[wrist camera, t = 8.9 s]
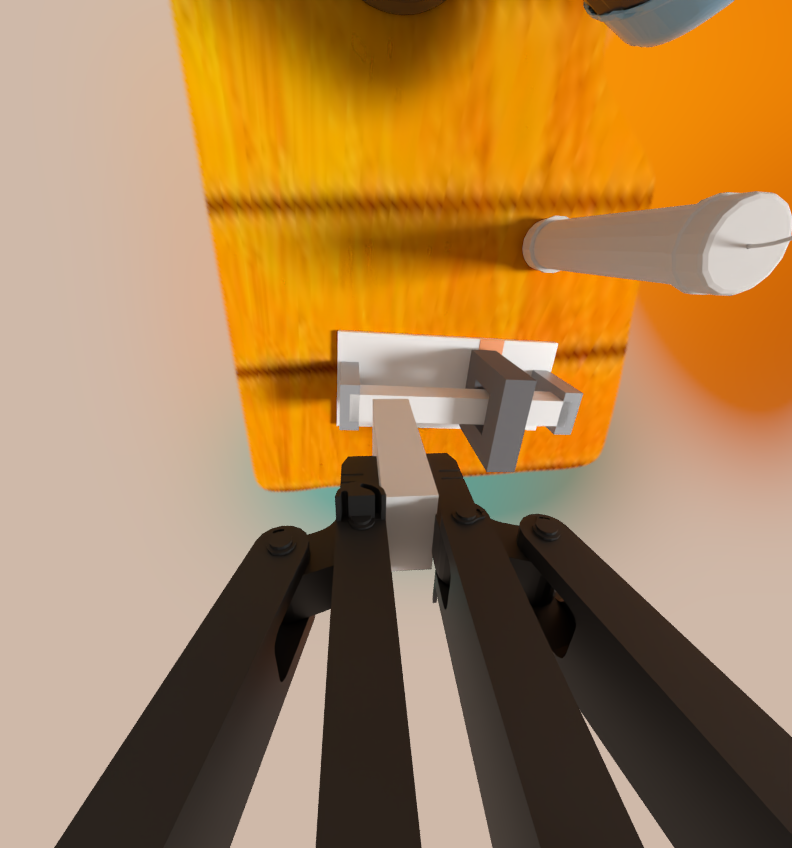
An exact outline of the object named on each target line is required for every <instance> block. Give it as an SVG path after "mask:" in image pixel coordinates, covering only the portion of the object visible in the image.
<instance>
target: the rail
mask: <svg viewBox="0 0 792 848" xmlns="http://www.w3.org/2000/svg"><path fill="white" fill-rule="evenodd" d="M557 347H558V343H556V342H546V341H528V340H510V339H492V338H474V337H456V336H437V335H419V334H401V333H383V332H365V331H347V330H338V365H337V426H339V430H359V426H366V427H373V399H409V402H410V406H411V409H412V412H413V415H414V418H415V422H416V425H417V428H456V429H461V428H460V426H459V424H479V425H484V421H485V416H486V411H487V406H488V401H489V396H490V394H489V392H488V391H487V390H486V389H465V387H466V381H467V375H468V369H469V363H470V357H471V351H472V349H473V350H493V351H497V352H498V353H500V354H501V355H503V356H504V357H505V358H507V359H508V360H509V361H511V362H512V363H513V364H515V365H516V366H517V367H519V368H520V369H522V370H523V371H524V372H526V373H527V374H528V375H530V376H531V377H532V378H534V379H535V380H536V381H537V382H536V386H535V390H534V394H533V399H532V403H531V407H530V411H529V415H528V419H527V423H526V427H525V430H536V427H537V426H546V427H547V428H548V429H549V430H550V431H551V432H552V433H553V434H563V435H571V431H572V428H573V425H574V422H575V418H576V415H577V412H578V408H579V405H580V402H581V399H582V395H583V393H582V392H580V391H579V390H577V389H575V388H574V387H572V386H571V385H569V384H568V383H566V382H565V381H563V380H561V379H560V378H558V377H557V376H555V375H554V374H552V373H551V370H552V366H553V362H554V358H555V354H556V350H557Z"/></svg>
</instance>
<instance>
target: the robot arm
mask: <svg viewBox="0 0 792 848" xmlns="http://www.w3.org/2000/svg"><path fill="white" fill-rule="evenodd" d="M363 1H365V2H366V3H368V4H369V5H371V6H373V7H375V8H377V9H379V10H382V11H385V12H388V13H392V14H399V15H410V14H417V13H421V12H425V11H427V10H430V9H432V8H434V7H436V6H438V5H439V4H441V3H442V2H444V1H445V0H363ZM583 1H584V8H585V10H586V12H587V13H588V14H589V15H590V16H591V17H592V18H594V19H597V20H599V21H602V22H604V23H605V24H606V25H607V26H608V27H609V28H610V29H611V30H613V32H614V33H616V35H618V36H619V37H620V38H621V39H622V40H623V41H624V42H625V43H627V44H629V45H631V46H640V47H653V46H657V45H660V44H663V43H666V42H669V41H671V40H673V39H675V38H678V37H680V36H681V35H684V34H685V33H687V32H689V31H691V30H692V29H694V28H696V27H697V26H699V25H700V24H702V23H703V22H705V21H706V20H708V19H709V18H711V17H712V16H714V15H715V14H716V13H718V12H719V11H720V10H722V9H723V8H725V7H726V6H728V5H729V4H730V3H731V2H733V1H734V0H583ZM335 505H336V520H335V521H334V522H333V523H332V524H331V525H330V526H329V527H327V528H325V529H323V530H321V531H318V532H315V533H312V534H309V535H307V534H306V533H305V532H304V531H303V530H302V529H300V528H297V527H294V526H280V527H277V528H273V529H270V530H269V531H267V532H265V533H263V534H262V535H261V536H260V537H259V538H258V539H257V540H256V541H255V543H254V545H253V546H252V548H251V549H250V551H249V552H248V554H247V555H246V557H245V558H244V560H243V562H242V563H241V564H240V566H239V567H238V569H237V571H236V572H235V573H234V575H233V576H232V578H231V580H230V581H229V583H228V584H227V586H226V587H225V589H224V590H223V592H222V593H221V595H220V596H219V598H218V599H217V601H216V602H215V604H214V606H213V607H212V608H211V610H210V611H209V613H208V615H207V616H206V618H205V619H204V621H203V622H202V624H201V625H200V627H199V628H198V630H197V631H196V633H195V634H194V636H193V637H192V639H191V640H190V642H189V643H188V645H187V646H186V648H185V649H184V651H183V653H182V654H181V656H180V657H179V659H178V660H177V662H176V663H175V665H174V666H173V668H172V669H171V671H170V672H169V674H168V675H167V677H166V678H165V680H164V681H163V683H162V684H161V686H160V688H159V689H158V691H157V692H156V694H155V695H154V697H153V698H152V700H151V701H150V703H149V705H148V706H147V707H146V709H145V710H144V712H143V713H142V715H141V717H140V718H139V719H138V721H137V723H136V724H135V726H134V727H133V729H132V730H131V732H130V733H129V735H128V736H127V738H126V739H125V741H124V742H123V744H122V745H121V747H120V748H119V750H118V752H117V753H116V754H115V756H114V758H113V759H112V761H111V762H110V764H109V765H108V767H107V768H106V770H105V771H104V773H103V775H102V776H101V777H100V779H99V781H98V782H97V783H96V785H95V786H94V788H93V789H92V791H91V792H90V794H89V796H88V797H87V799H86V800H85V802H84V803H83V805H82V806H81V808H80V809H79V811H78V812H77V814H76V815H75V817H74V818H73V820H72V822H71V823H70V825H69V826H68V828H67V829H66V831H65V832H64V834H63V835H62V837H61V838H60V840H59V841H58V843H57V845H56V846H55V847H54V848H230V846H231V843H232V840H233V837H234V835H235V832H236V830H237V827H238V824H239V821H240V819H241V816H242V813H243V810H244V808H245V805H246V803H247V800H248V797H249V794H250V792H251V789H252V786H253V784H254V781H255V778H256V776H257V773H258V770H259V767H260V765H261V762H262V759H263V756H264V754H265V751H266V748H267V746H268V743H269V740H270V737H271V735H272V732H273V730H274V727H275V724H276V721H277V719H278V716H279V713H280V711H281V708H282V705H283V703H284V700H285V697H286V695H287V692H288V689H289V686H290V684H291V681H292V678H293V676H294V673H295V670H296V668H297V665H298V662H299V659H300V656H301V654H302V651H303V648H304V646H305V643H306V641H307V638H308V635H309V632H310V630H311V627H312V624H313V622H314V618H315V615H316V614H318V613H321V612H324V611H326V610H329V609H331V615H330V631H329V646H328V662H327V678H326V693H325V709H324V725H323V741H322V756H321V774H320V788H319V789H320V790H319V804H318V819H317V836H316V848H421V839H420V830H419V820H418V812H417V802H416V793H415V784H414V776H413V775H414V774H413V765H412V756H411V747H410V737H409V729H408V720H407V710H406V701H405V692H404V682H403V673H402V664H401V655H400V645H399V637H398V627H397V618H396V608H395V599H394V590H393V581H392V572H391V571H406V570H424V569H431V567H432V558H433V560H434V564H435V569H436V570H435V580H434V589H433V603H436V601H437V597H438V602H439V606H440V611H441V615H442V620H443V625H444V629H445V634H446V638H447V643H448V647H449V652H450V656H451V661H452V665H453V670H454V674H455V679H456V684H457V688H458V693H459V697H460V702H461V706H462V711H463V716H464V719H465V725H466V729H467V733H468V738H469V743H470V747H471V752H472V756H473V761H474V765H475V770H476V775H477V779H478V783H479V788H480V793H481V797H482V801H483V806H484V810H485V815H486V820H487V824H488V829H489V833H490V838H491V843H492V847H493V848H644V847H643V845H642V843H641V840H640V838H639V836H638V834H637V832H636V830H635V827H634V825H633V823H632V821H631V819H630V817H629V815H628V813H627V810H626V808H625V807H624V804H623V802H622V800H621V797H620V795H619V793H618V791H617V789H616V787H615V785H614V782H613V780H612V778H611V776H610V774H609V772H608V770H607V768H606V765H605V763H604V761H603V759H602V757H601V755H600V752H599V750H598V748H597V746H596V744H595V742H594V740H593V737H592V735H591V733H590V731H589V729H588V727H587V725H586V723H585V721H584V718H583V716H582V714H583V715H584V717H585V718H586V719H587V721H588V722H589V724H590V725H591V727H592V728H593V730H594V731H595V733H596V734H597V735H598V737H599V739H600V740H601V741H602V743H603V744H604V746H605V747H606V749H607V750H608V752H609V753H610V754H611V756H612V757H613V759H614V760H615V762H616V763H617V765H618V766H619V767H620V769H621V771H622V772H623V774H624V775H625V776H626V778H627V779H628V781H629V782H630V784H631V785H632V787H633V788H634V789H635V791H636V792H637V794H638V795H639V797H640V798H641V800H642V801H643V803H644V804H645V806H646V807H647V808H648V810H649V811H650V813H651V814H652V816H653V817H654V819H655V820H656V822H657V823H658V824H659V826H660V827H661V829H662V830H663V832H664V833H665V835H666V836H667V838H668V839H669V841H670V842H671V843H672V845H673V846H674V848H792V737H791V736H790V735H789V734H788V733H787V732H786V731H785V730H784V729H783V728H781V727H780V726H779V725H778V724H777V723H776V722H775V721H774V720H773V719H772V718H771V717H770V716H769V715H768V714H766V713H765V712H764V711H763V710H762V709H761V708H760V707H759V706H758V705H757V704H756V703H755V702H754V701H753V700H752V699H751V698H749V697H748V696H747V695H746V694H745V693H744V692H743V691H742V690H741V689H740V688H739V687H738V686H737V685H735V684H734V683H733V682H732V681H731V680H730V679H729V678H728V677H727V676H726V675H725V674H724V673H723V672H722V671H721V670H720V669H719V668H717V667H716V666H715V665H714V664H713V663H712V662H711V661H710V660H709V659H708V658H707V657H706V656H704V654H702V653H701V652H700V651H699V650H698V649H697V648H696V647H695V646H694V645H693V644H692V643H691V642H690V641H689V640H688V639H687V638H685V637H684V636H683V635H682V634H681V633H680V632H679V631H678V630H677V629H676V628H675V627H674V626H673V625H672V624H671V623H669V622H668V621H667V620H666V619H665V618H664V617H663V616H662V615H661V614H660V613H659V612H658V611H657V610H656V609H655V608H653V607H652V606H651V605H650V604H649V603H648V602H647V601H646V600H645V599H644V598H643V597H642V596H641V595H640V594H639V593H637V592H636V591H635V590H634V589H633V588H632V587H631V586H630V585H629V584H628V583H627V582H626V581H625V580H624V579H623V578H621V577H620V576H619V575H618V574H617V573H616V572H615V571H614V570H613V569H612V568H611V567H610V566H609V565H608V564H606V563H605V562H604V561H603V560H602V559H601V558H600V557H599V556H598V555H597V554H596V553H595V552H594V551H593V550H591V548H589V547H588V546H587V545H586V544H585V543H584V542H583V541H582V540H581V539H580V538H579V537H577V535H575V534H574V533H573V532H572V531H571V530H570V529H569V528H568V527H567V526H566V525H564V524H563V523H562V522H560V521H559V520H557V519H555V518H553V517H550V516H547V515H542V514H531V515H528V516H526V517H524V518H523V519H522V520H521V522H520V525H519V526H518V525H512V524H507V523H502V522H498V521H495V520H493V519H490V517H489V515H488V513H487V512H486V511H485V509H483V508H482V507H480V506H479V505H477V504H475V503H474V501H473V499H472V496H471V494H470V492H469V490H468V487H467V485H466V483H465V480H464V479H463V476H462V473H461V471H460V469H459V467H458V464H457V462H456V460H454V459H453V458H452V457H451V456H450V455H448V454H447V453H433V454H426V453H425V450H424V447H423V444H422V441H421V437H420V434H419V431H418V428H417V425H416V422H415V418H414V415H413V412H412V409H411V406H410V402H409V399H373V456H353V457H348V458H347V459H346V460H345V461H344V463H343V464H342V469H341V485H340V489H339V490H338V491H337V493H336V496H335ZM579 709H580V710H579ZM580 711H581V712H582V714H581V712H580Z"/></svg>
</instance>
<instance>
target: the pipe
mask: <svg viewBox="0 0 792 848" xmlns="http://www.w3.org/2000/svg"><path fill="white" fill-rule="evenodd" d="M791 232H792V215H791V212H790V209H789V206H788V204H787V203H786V202H785V201H784V200H782V199H781V198H780V197H779V196H778V195H776V194H774V193H769V192H748V193H729V192H726V193H719V194H717V195H714V196H712V197H709V198H706V199H704V200H701V201H700V202H699V203H697V204H694V205H685V206H676V207H667V208H659V209H650V210H641V211H632V212H624V213H615V214H606V215H598V216H589V217H580V218H572V219H569V218H567V217H566V216H553V217H550V218H547V219H544V220H541V221H539V222H537V223H535V224H534V225H533V226H532V227H531V228H530V229H529V231H528V232H527V234H526V236H525V238H524V242H523V248H522V250H523V256H524V259H525V261H526V262H527V264H528V265H529V266H530V267H532V268H534V269H535V270H539V271H541V272H545V273H555V272H558V271H560V270H562V271H570V272H578V273H586V274H594V275H602V276H609V277H617V278H625V279H633V280H641V281H649V282H657V283H665V284H672V286H674V287H675V288H677V289H678V290H680V291H682V292H683V293H688V294H703V295H707V294H712V295H728V296H731V295H735V294H737V293H740V292H743V291H746V290H748V289H751V288H753V287H754V286H755V285H757V284H758V283H759V282H761V281H762V280H763V279H764V278H766V277H767V276H769V274H770V273H771V272H772V270H773V269H774V268H775V267H776V265H777V264H778V263H779V261H780V260H781V259H782V257H783V255H784V253H785V251H786V248H787V246H788V244H789V241H791V240H792V236H791Z"/></svg>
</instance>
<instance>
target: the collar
mask: <svg viewBox="0 0 792 848" xmlns="http://www.w3.org/2000/svg"><path fill="white" fill-rule="evenodd" d="M536 382H537V381H536V380H535V379H534V378H532V377H531V376H530V375H528V374H527V373H526V372H524V371H523V370H522V369H520V368H519V367H517V366H516V365H515V364H513V363H512V362H511V361H509V360H508V359H507V358H505V357H504V356H503V355H501V354H500V353H498V352H497V351H493V350H473V349H472V351H471V357H470V363H469V369H468V375H467V381H466V387H465V389H486V390H487V391H488V392H489V394H490V396H489V401H488V406H487V411H486V416H485V421H484V425H479V424H459V426H460V428H461V430H462V431H463V433H464V435H465V436H466V438H467V440H468V441H469V443H470V445H471V446H472V448H473V450H474V451H475V453H476V455H477V456H478V458H479V460H480V461H481V463H482V465H483V466H484V468H485V470H486V471H487V472H514V471H515V467H516V463H517V459H518V455H519V451H520V447H521V443H522V439H523V435H524V431H525V427H526V423H527V419H528V415H529V411H530V407H531V403H532V399H533V394H534V390H535V386H536Z"/></svg>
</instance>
